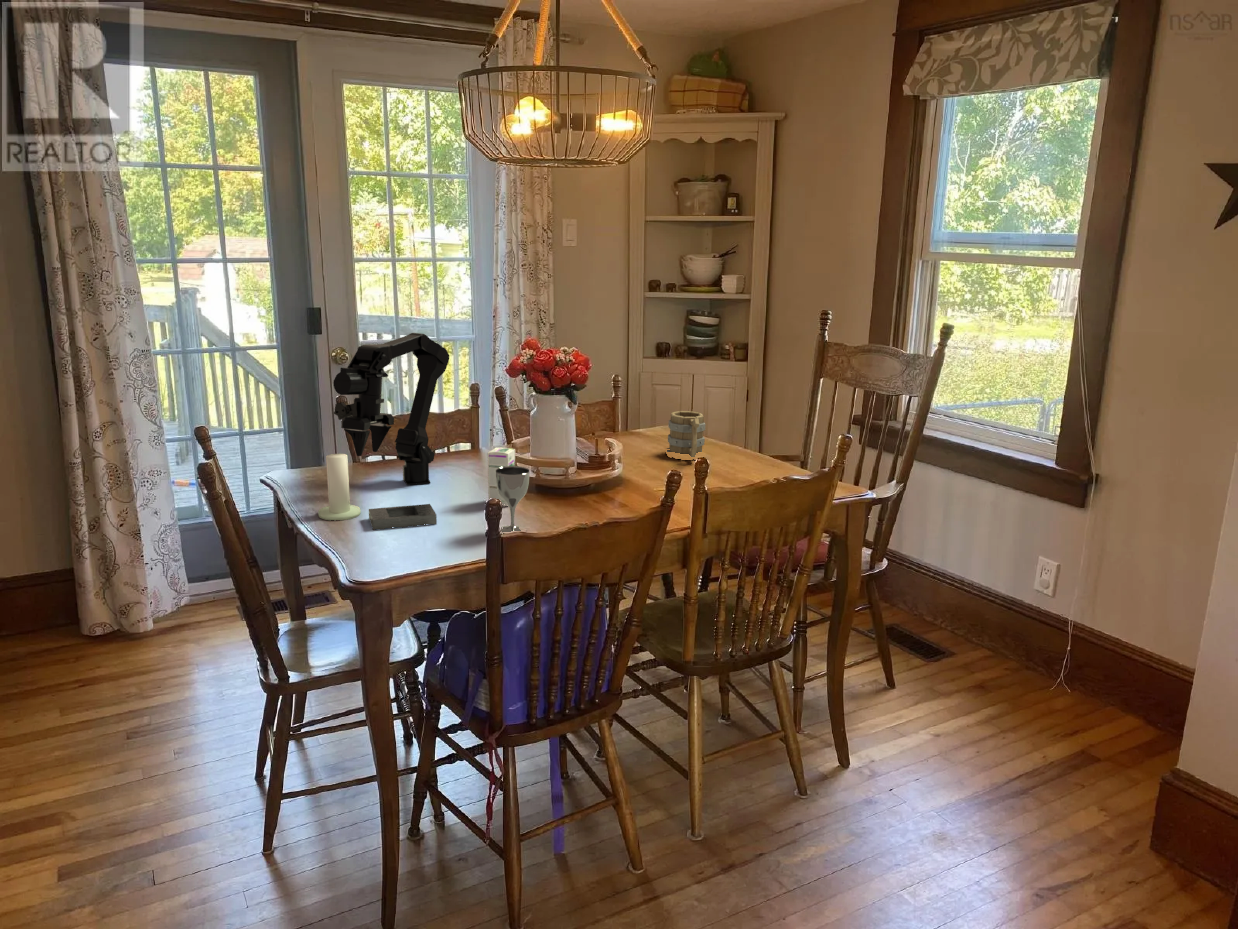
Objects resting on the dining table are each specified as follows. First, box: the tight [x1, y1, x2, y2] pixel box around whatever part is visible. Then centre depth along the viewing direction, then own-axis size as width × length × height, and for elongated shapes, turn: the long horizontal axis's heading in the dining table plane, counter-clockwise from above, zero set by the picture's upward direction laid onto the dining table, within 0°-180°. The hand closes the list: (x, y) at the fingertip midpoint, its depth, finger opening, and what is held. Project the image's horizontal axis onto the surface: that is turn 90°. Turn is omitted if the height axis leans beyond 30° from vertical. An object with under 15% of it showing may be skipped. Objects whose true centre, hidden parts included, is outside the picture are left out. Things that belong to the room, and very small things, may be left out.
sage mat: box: [318, 504, 361, 522], centre depth 221 cm, size 10×10×1 cm
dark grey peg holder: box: [368, 503, 438, 531], centre depth 217 cm, size 15×9×2 cm, turn 112°
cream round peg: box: [325, 453, 351, 514], centre depth 219 cm, size 5×5×14 cm
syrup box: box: [487, 447, 516, 507], centre depth 233 cm, size 6×6×14 cm
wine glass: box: [496, 465, 530, 532], centre depth 212 cm, size 8×8×15 cm
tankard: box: [666, 410, 706, 457], centre depth 284 cm, size 20×13×15 cm, turn 6°
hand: (367, 453), depth 231 cm, fingers open, 9 cm apart
